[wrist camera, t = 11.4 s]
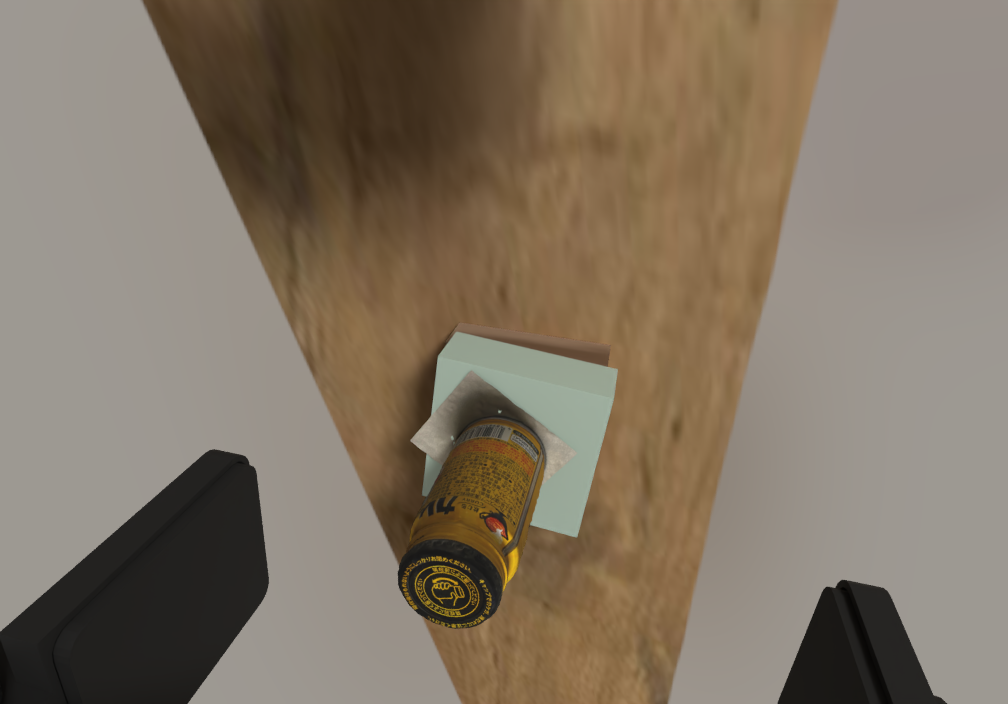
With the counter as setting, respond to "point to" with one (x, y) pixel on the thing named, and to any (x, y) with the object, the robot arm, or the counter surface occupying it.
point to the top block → (538, 413)
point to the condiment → (475, 503)
